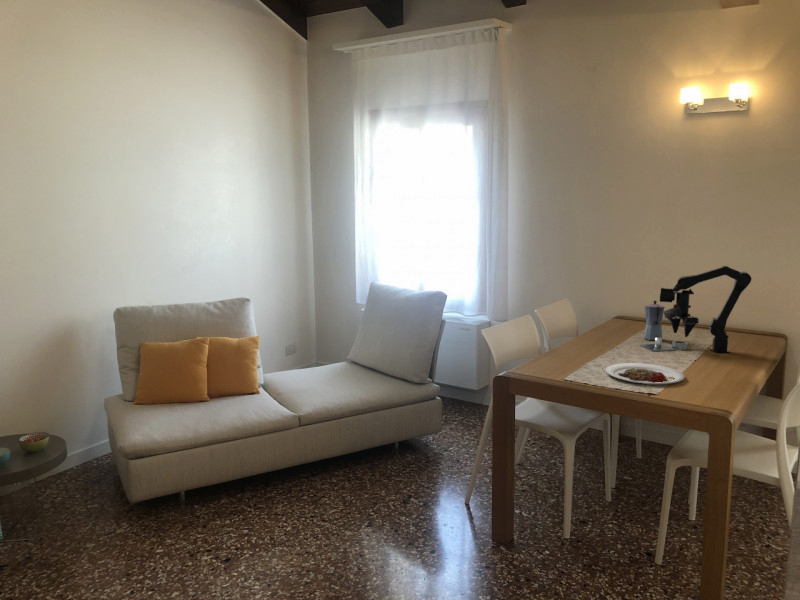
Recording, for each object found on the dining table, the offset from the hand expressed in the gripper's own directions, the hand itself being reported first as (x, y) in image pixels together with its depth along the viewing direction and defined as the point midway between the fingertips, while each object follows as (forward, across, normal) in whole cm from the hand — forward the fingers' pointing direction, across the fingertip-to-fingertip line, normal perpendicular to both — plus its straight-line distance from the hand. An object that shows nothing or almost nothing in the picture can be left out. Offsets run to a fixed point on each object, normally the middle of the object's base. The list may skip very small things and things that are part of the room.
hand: (680, 334), depth 307 cm
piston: (+7, -2, -10) cm, 12 cm away
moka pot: (+7, -20, -2) cm, 21 cm away
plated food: (+7, +43, -42) cm, 61 cm away
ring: (+7, 0, 0) cm, 7 cm away
